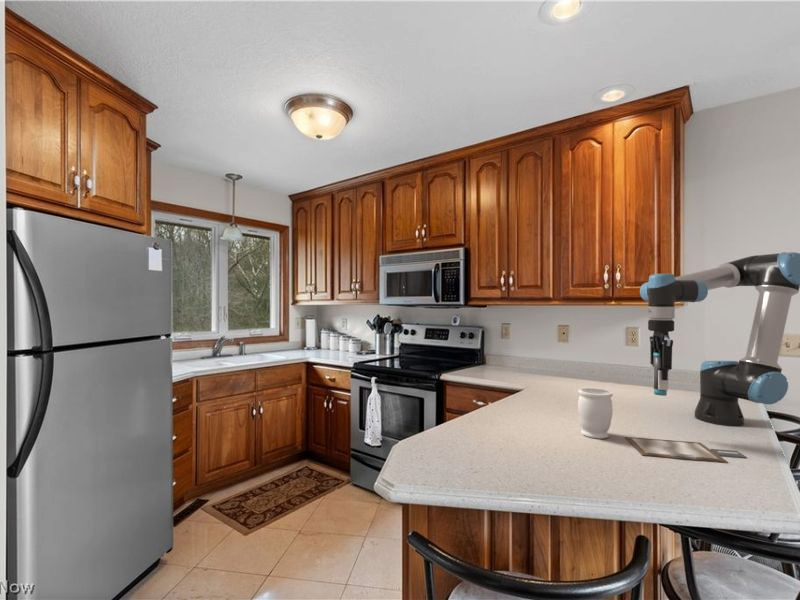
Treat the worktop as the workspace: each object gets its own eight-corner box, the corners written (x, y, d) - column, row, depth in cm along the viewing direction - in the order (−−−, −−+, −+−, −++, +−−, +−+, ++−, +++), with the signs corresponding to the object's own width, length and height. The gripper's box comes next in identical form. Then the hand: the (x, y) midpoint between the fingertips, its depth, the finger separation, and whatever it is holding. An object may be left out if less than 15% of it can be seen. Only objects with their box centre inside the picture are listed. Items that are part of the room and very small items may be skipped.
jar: (576, 436, 138) (577, 392, 138) (578, 428, 147) (579, 386, 147) (612, 442, 133) (612, 396, 133) (612, 433, 142) (612, 390, 142)
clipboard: (700, 443, 133) (700, 441, 133) (728, 463, 117) (728, 460, 117) (625, 437, 138) (625, 435, 138) (642, 455, 122) (642, 453, 122)
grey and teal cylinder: (664, 393, 141) (665, 352, 141) (669, 396, 137) (670, 354, 137) (651, 392, 142) (651, 352, 142) (655, 395, 138) (656, 353, 138)
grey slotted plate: (737, 452, 126) (737, 450, 126) (746, 458, 121) (746, 456, 121) (710, 450, 127) (710, 448, 127) (719, 456, 122) (719, 454, 122)
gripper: (640, 318, 149) (639, 382, 149) (658, 320, 132) (657, 393, 132) (663, 318, 147) (662, 383, 147) (684, 320, 130) (684, 394, 131)
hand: (660, 388), depth 140 cm, fingers closed on grey and teal cylinder, 4 cm apart
